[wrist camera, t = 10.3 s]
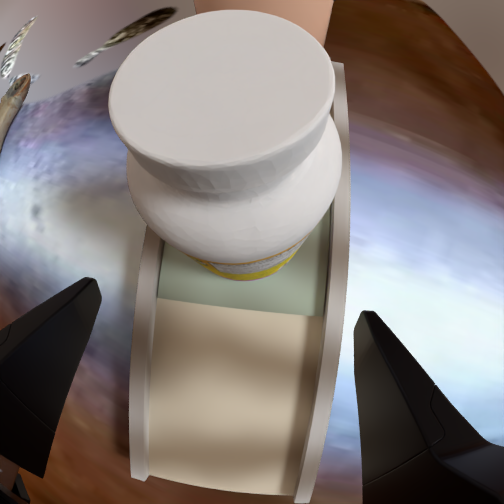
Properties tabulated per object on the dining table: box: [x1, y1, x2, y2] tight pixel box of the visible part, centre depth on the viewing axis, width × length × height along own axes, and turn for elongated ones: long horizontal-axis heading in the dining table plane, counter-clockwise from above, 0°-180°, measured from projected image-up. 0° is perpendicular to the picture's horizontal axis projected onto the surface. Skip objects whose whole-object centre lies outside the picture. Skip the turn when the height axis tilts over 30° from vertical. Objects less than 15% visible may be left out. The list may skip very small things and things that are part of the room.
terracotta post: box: [194, 0, 333, 47], centre depth 13 cm, size 7×7×13 cm
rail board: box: [129, 61, 350, 503], centre depth 18 cm, size 32×12×2 cm, turn 174°
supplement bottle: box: [108, 10, 342, 281], centre depth 11 cm, size 7×7×13 cm
